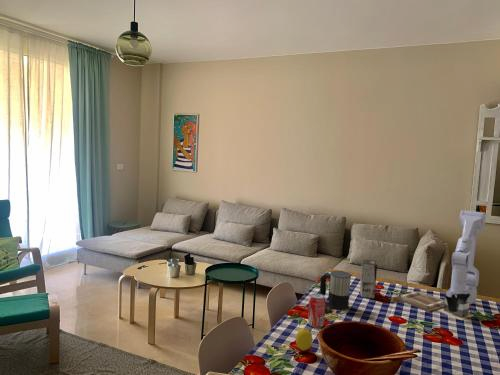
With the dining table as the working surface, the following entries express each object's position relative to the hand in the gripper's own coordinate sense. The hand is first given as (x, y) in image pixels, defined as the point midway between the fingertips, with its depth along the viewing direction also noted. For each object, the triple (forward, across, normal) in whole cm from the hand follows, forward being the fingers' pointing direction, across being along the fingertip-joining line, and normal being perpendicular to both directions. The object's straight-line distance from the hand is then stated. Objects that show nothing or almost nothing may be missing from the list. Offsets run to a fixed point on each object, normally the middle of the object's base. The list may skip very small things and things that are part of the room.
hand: (455, 310), depth 171 cm
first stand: (+3, 0, 0) cm, 3 cm away
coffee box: (+3, -14, +36) cm, 39 cm away
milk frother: (+3, -42, +32) cm, 53 cm away
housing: (+1, 0, 0) cm, 1 cm away
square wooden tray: (+3, -1, +15) cm, 15 cm away
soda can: (+3, -61, +22) cm, 65 cm away
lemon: (+3, -79, +9) cm, 80 cm away
